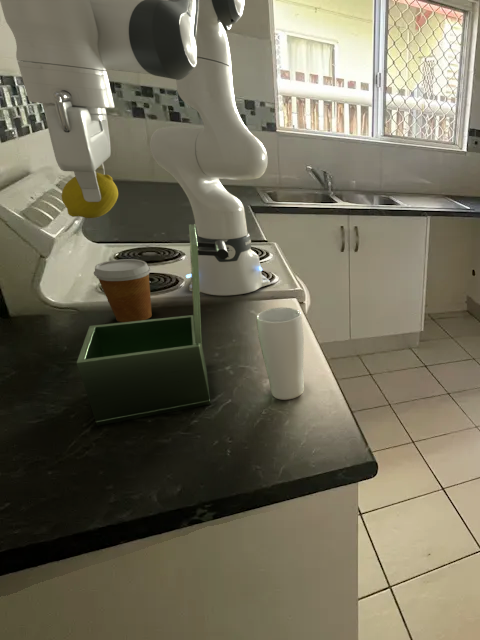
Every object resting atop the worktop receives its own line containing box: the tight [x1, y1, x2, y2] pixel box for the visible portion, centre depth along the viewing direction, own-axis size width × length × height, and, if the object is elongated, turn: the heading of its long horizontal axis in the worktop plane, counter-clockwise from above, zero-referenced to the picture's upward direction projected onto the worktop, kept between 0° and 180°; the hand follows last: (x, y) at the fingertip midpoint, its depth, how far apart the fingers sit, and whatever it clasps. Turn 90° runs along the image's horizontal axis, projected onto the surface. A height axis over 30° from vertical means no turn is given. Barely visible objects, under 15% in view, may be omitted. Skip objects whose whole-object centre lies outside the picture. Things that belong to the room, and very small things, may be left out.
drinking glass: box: [255, 307, 305, 401], centre depth 80 cm, size 7×7×15 cm
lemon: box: [61, 173, 119, 219], centre depth 69 cm, size 6×6×8 cm
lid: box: [188, 224, 228, 343], centre depth 77 cm, size 16×14×5 cm
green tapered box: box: [76, 314, 211, 427], centre depth 77 cm, size 15×14×11 cm
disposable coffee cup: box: [93, 258, 153, 323], centre depth 102 cm, size 10×10×12 cm
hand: (97, 196), depth 69 cm, fingers closed on lemon, 5 cm apart
